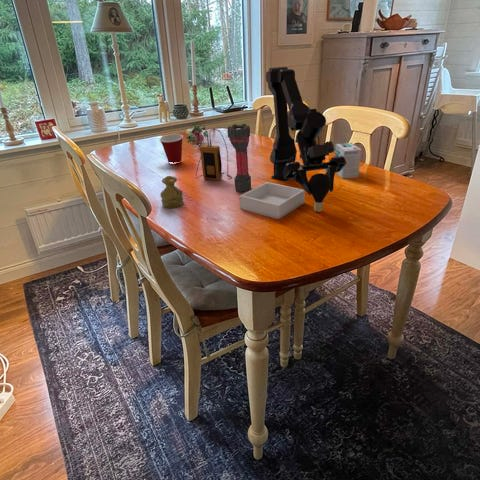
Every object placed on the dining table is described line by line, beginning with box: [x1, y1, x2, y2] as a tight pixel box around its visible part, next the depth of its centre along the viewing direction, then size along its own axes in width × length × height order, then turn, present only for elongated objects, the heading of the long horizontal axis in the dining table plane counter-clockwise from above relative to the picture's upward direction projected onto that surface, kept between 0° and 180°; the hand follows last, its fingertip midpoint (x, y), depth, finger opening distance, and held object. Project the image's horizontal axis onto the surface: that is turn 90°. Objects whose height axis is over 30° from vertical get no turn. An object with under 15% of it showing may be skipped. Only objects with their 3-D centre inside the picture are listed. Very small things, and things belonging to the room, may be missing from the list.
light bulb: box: [308, 172, 331, 213], centre depth 110 cm, size 7×7×12 cm
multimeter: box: [195, 127, 233, 181], centre depth 143 cm, size 15×10×20 cm
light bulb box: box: [334, 142, 362, 179], centre depth 139 cm, size 11×7×11 cm, turn 5°
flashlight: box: [227, 123, 252, 193], centre depth 127 cm, size 8×8×23 cm
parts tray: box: [239, 181, 306, 220], centre depth 117 cm, size 15×15×4 cm
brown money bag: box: [159, 175, 184, 209], centre depth 122 cm, size 7×7×10 cm
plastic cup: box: [158, 133, 184, 163], centre depth 165 cm, size 11×11×12 cm
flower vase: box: [185, 125, 208, 146], centre depth 197 cm, size 12×12×35 cm
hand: (321, 192), depth 108 cm, fingers closed on light bulb, 6 cm apart
